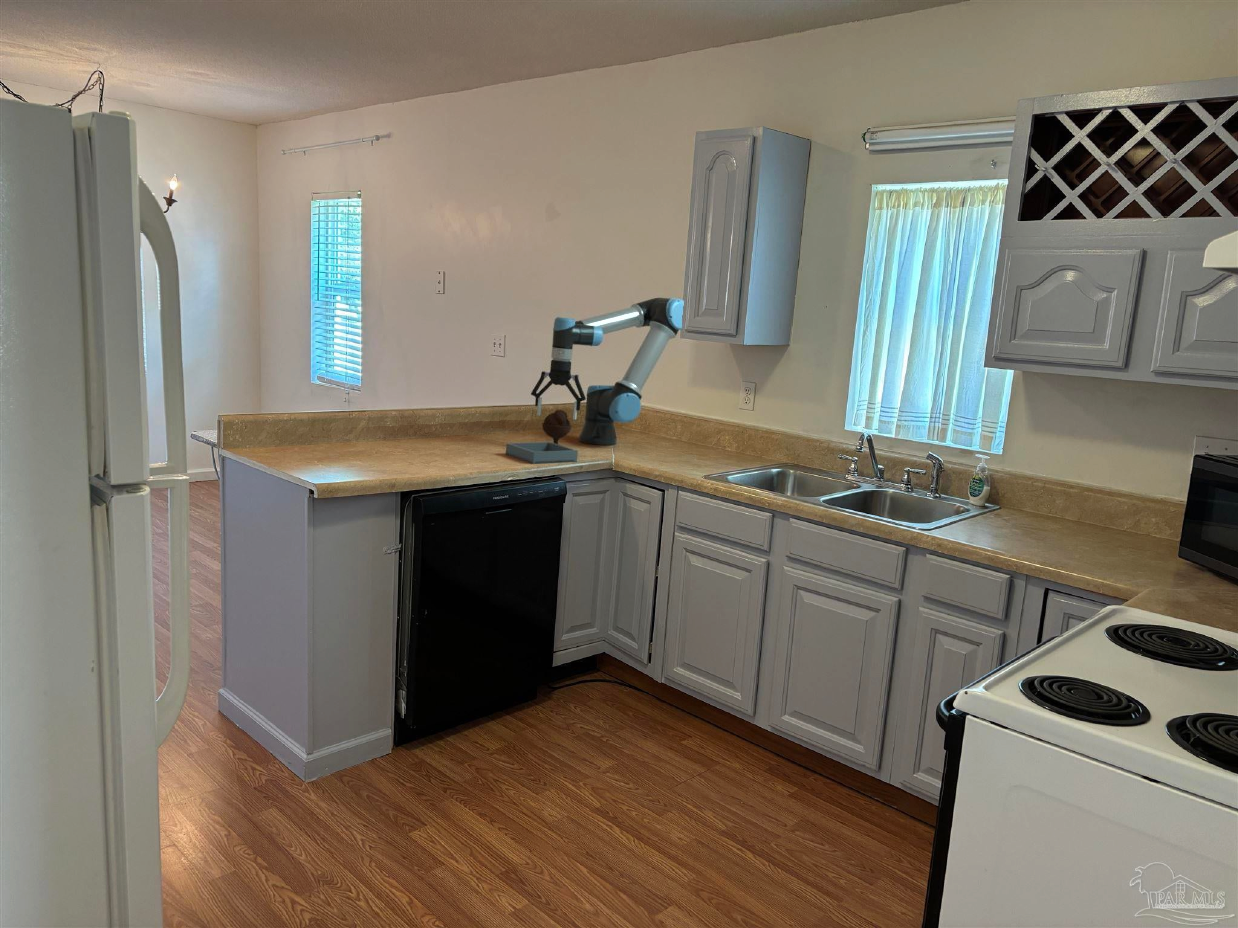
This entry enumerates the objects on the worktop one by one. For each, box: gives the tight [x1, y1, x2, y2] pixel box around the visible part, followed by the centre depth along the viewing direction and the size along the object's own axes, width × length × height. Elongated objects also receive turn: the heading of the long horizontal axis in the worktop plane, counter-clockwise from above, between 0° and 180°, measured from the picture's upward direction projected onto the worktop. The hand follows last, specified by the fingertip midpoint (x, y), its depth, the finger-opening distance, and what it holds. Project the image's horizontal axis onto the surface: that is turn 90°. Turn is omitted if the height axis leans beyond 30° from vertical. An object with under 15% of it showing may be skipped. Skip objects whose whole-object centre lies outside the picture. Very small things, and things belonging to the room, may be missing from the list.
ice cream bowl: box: [541, 409, 573, 445], centre depth 328 cm, size 11×11×15 cm
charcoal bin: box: [505, 441, 579, 465], centre depth 307 cm, size 18×18×4 cm
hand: (556, 417), depth 327 cm, fingers open, 13 cm apart
